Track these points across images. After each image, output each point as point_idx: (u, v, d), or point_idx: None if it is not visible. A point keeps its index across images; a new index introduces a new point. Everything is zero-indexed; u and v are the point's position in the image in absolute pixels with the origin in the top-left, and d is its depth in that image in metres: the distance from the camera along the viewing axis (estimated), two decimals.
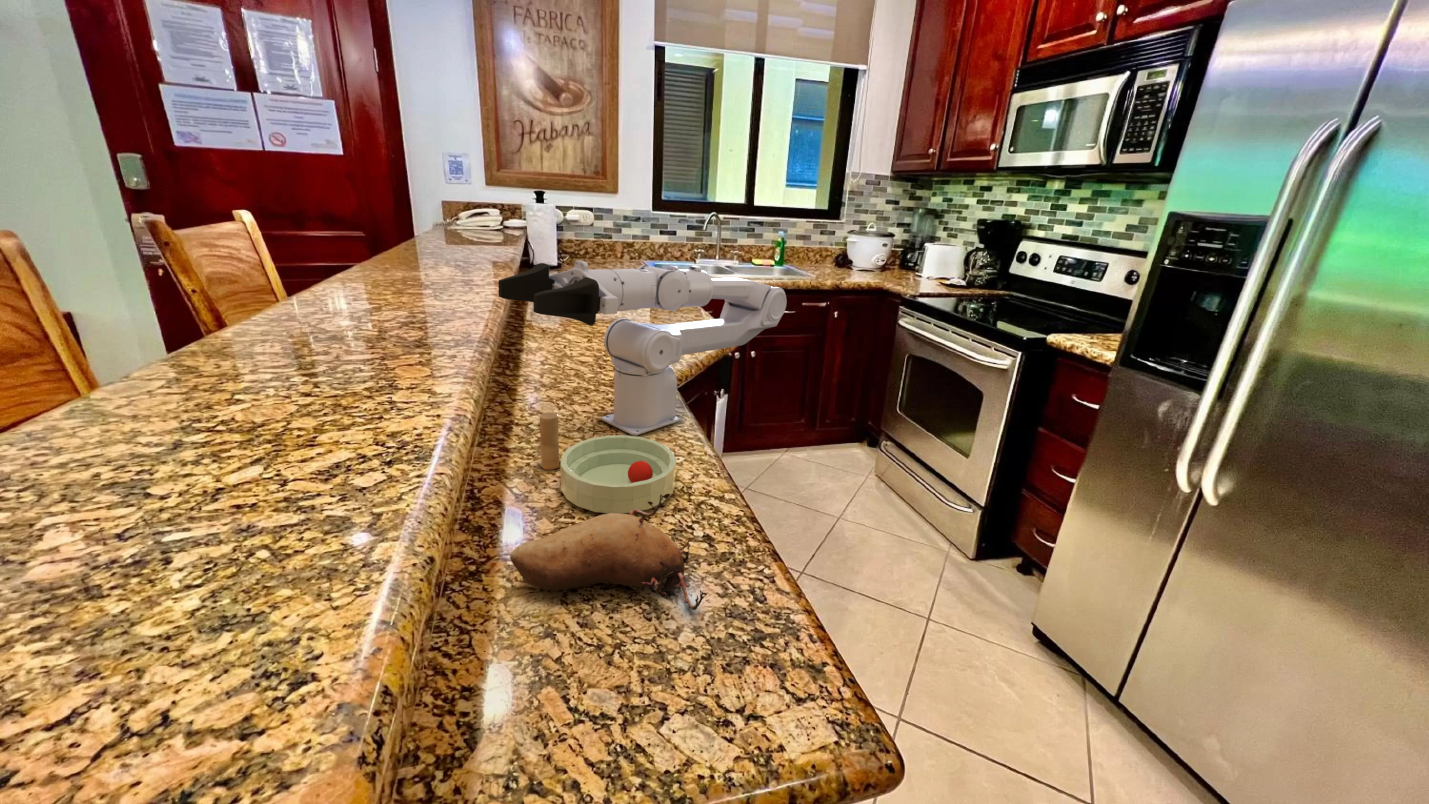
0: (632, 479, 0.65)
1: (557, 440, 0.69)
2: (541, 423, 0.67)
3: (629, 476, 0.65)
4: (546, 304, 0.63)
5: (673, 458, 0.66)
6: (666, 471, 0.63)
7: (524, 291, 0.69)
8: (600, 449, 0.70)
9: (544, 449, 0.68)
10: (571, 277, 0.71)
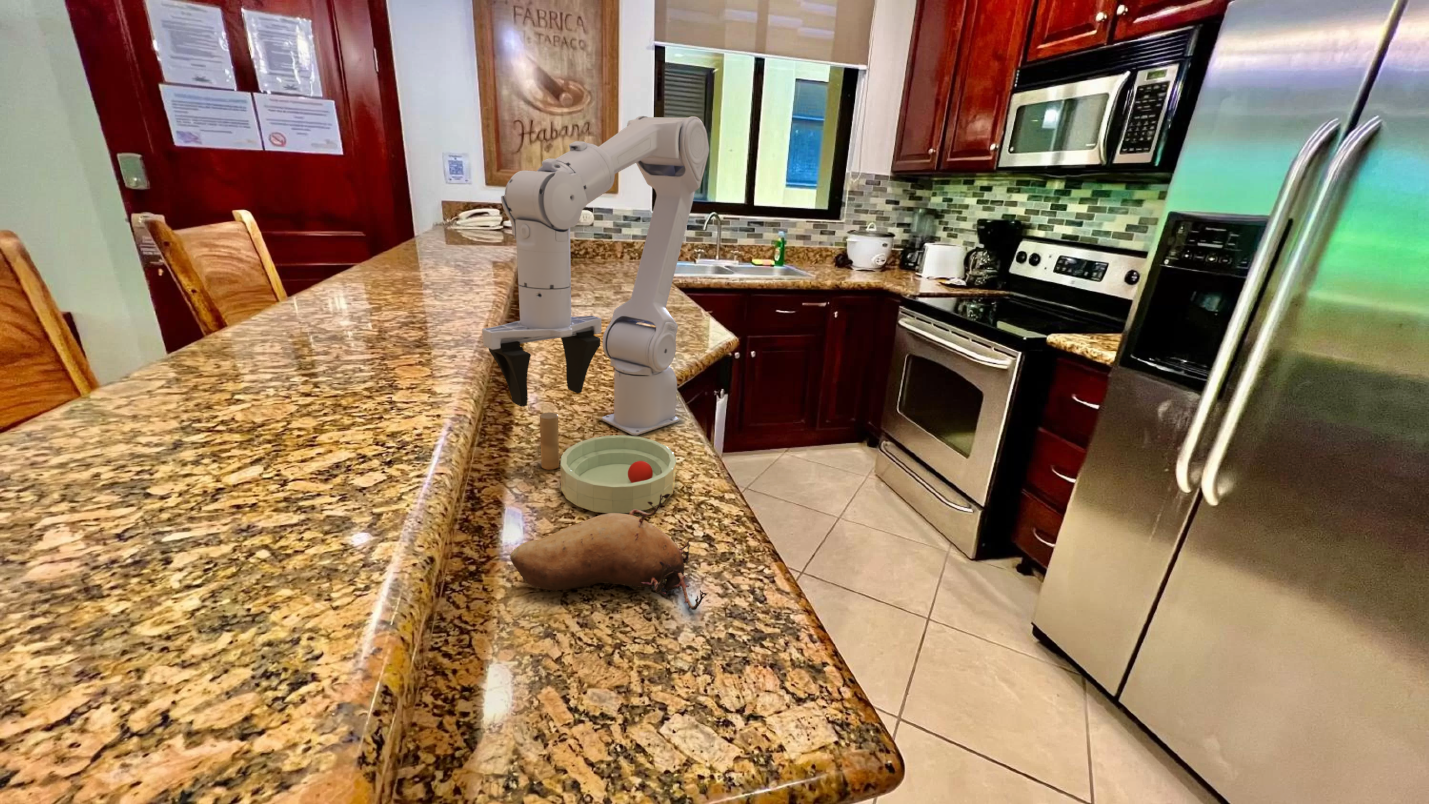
0: (632, 479, 0.65)
1: (557, 440, 0.69)
2: (541, 423, 0.67)
3: (629, 476, 0.65)
4: None
5: (673, 458, 0.66)
6: (666, 471, 0.63)
7: None
8: (600, 449, 0.70)
9: (544, 449, 0.68)
10: None
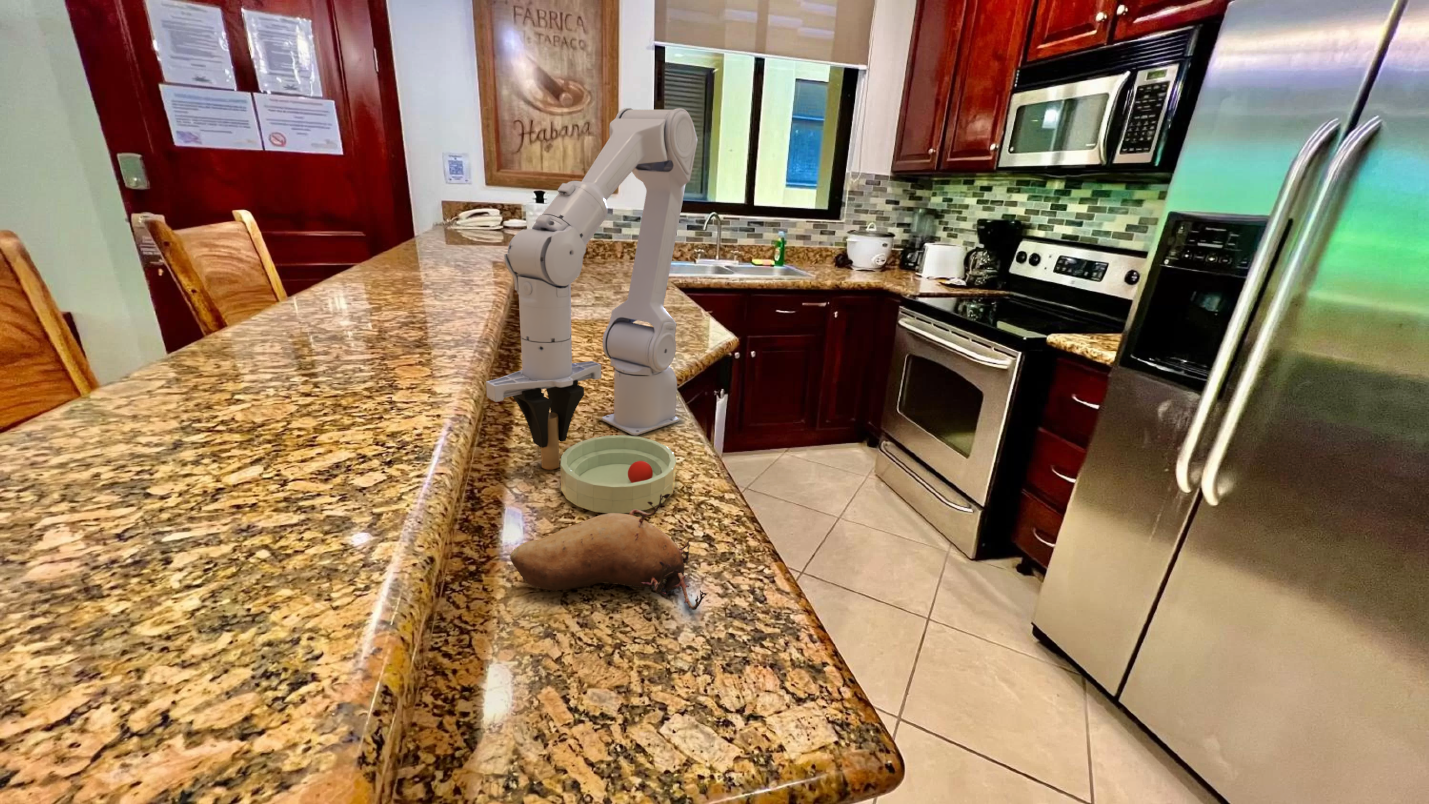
0: (632, 479, 0.65)
1: (557, 440, 0.69)
2: None
3: (629, 476, 0.65)
4: None
5: (673, 458, 0.66)
6: (666, 471, 0.63)
7: None
8: (600, 449, 0.70)
9: (544, 449, 0.68)
10: None
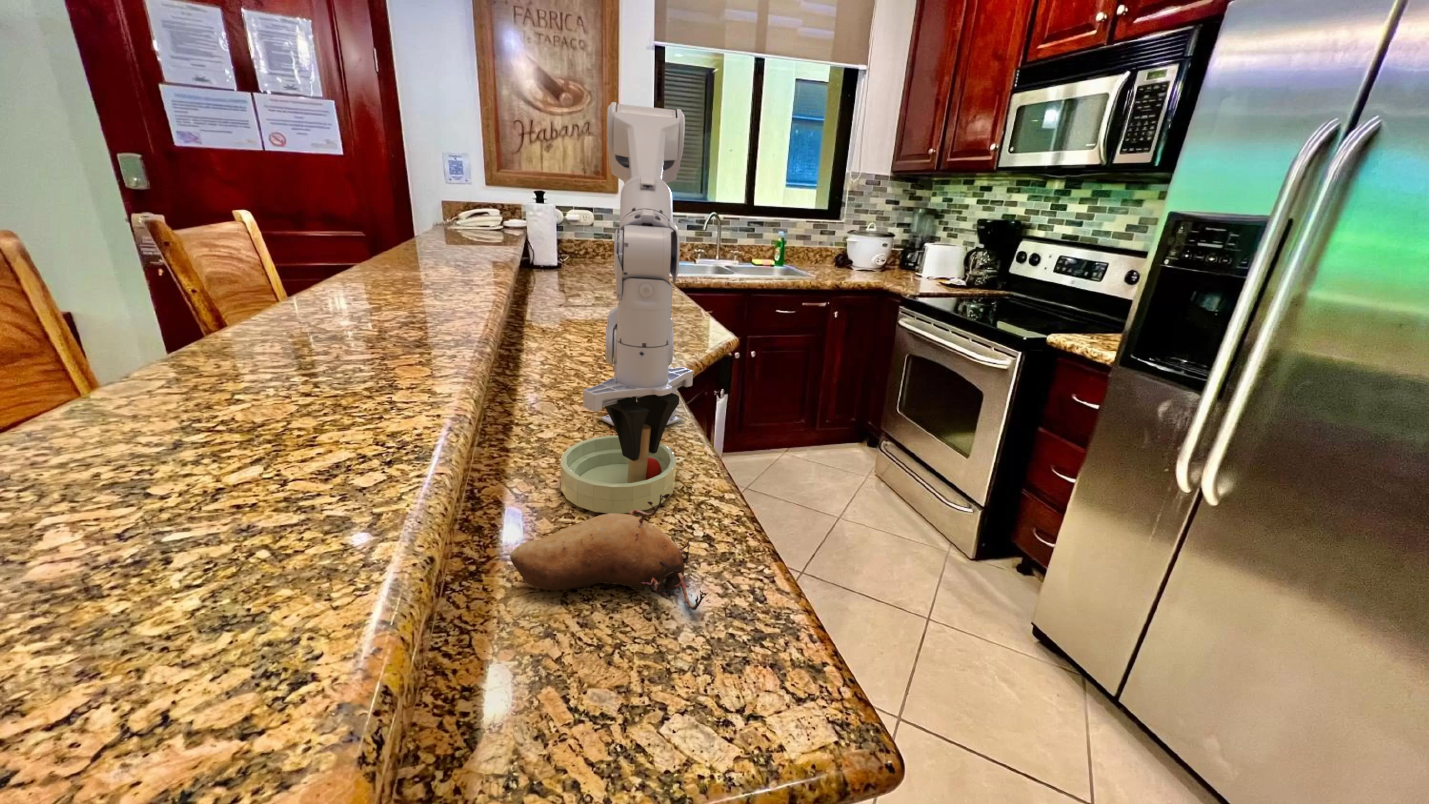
0: None
1: (647, 454, 0.64)
2: None
3: None
4: None
5: (673, 458, 0.66)
6: (666, 471, 0.63)
7: None
8: (600, 449, 0.70)
9: (633, 462, 0.63)
10: None
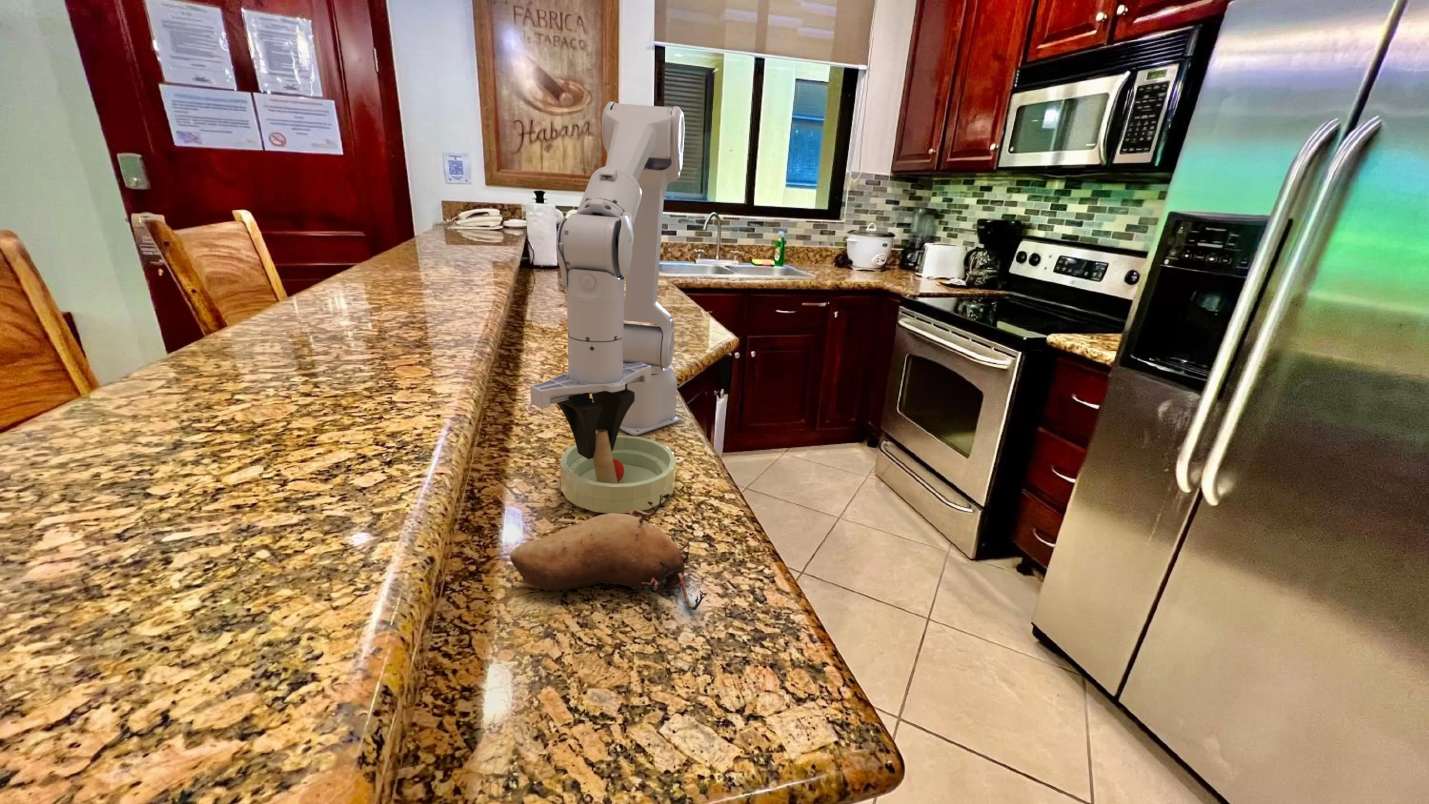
0: (618, 480, 0.66)
1: (603, 461, 0.61)
2: None
3: None
4: None
5: (673, 458, 0.66)
6: (666, 471, 0.63)
7: None
8: None
9: (595, 469, 0.62)
10: None
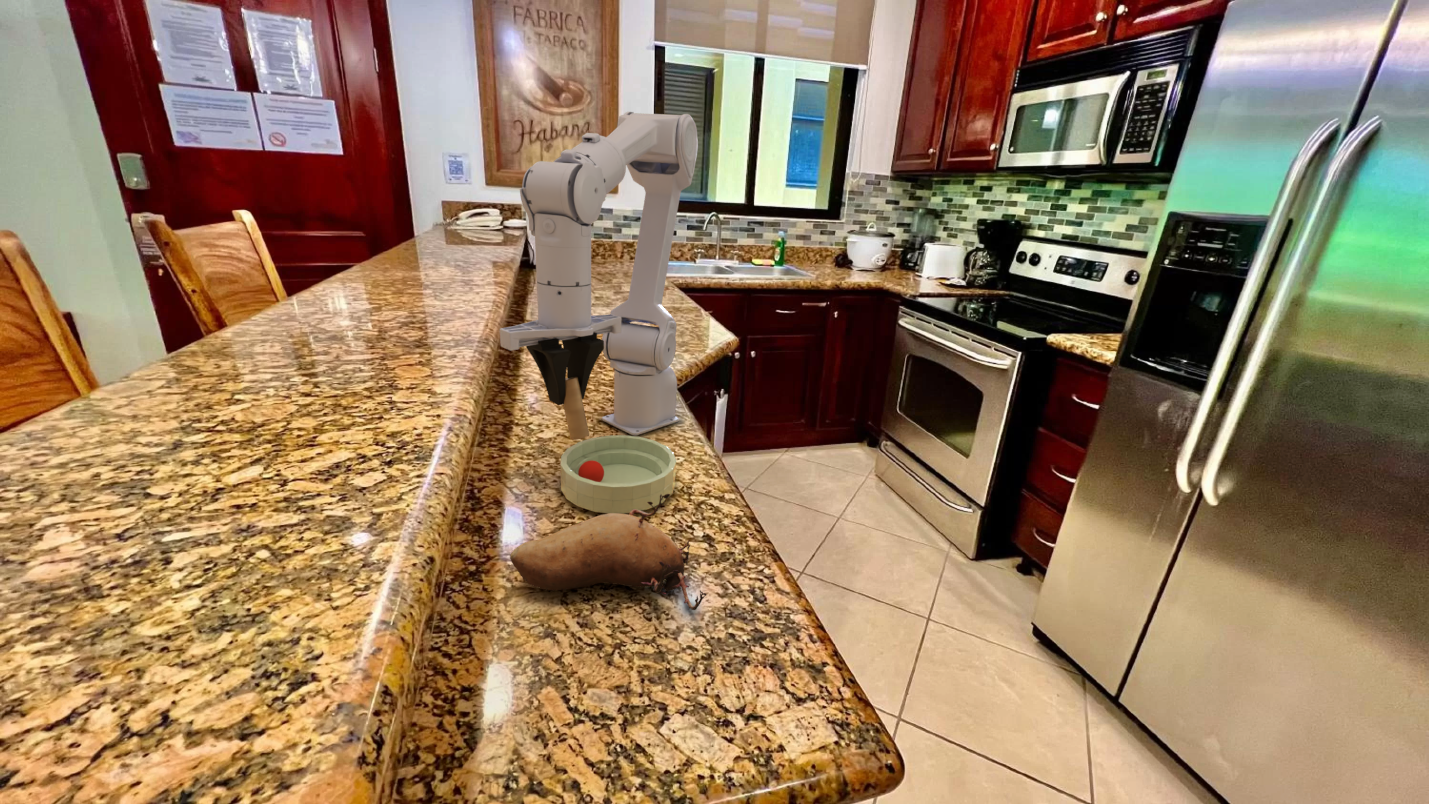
0: (601, 467, 0.65)
1: (573, 407, 0.62)
2: None
3: (600, 464, 0.65)
4: None
5: (673, 458, 0.66)
6: (666, 471, 0.63)
7: None
8: (600, 449, 0.70)
9: None
10: None
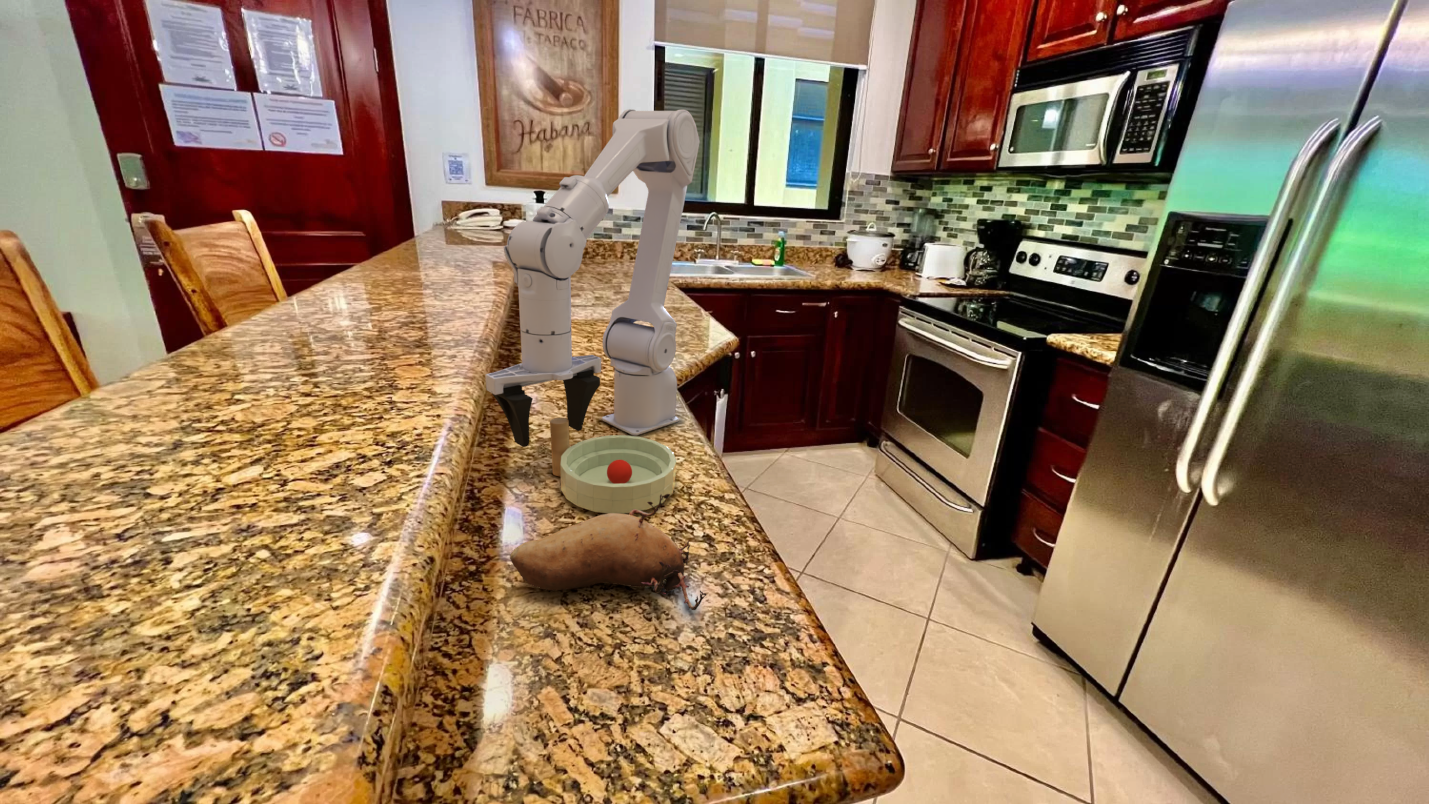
0: None
1: (560, 448, 0.67)
2: None
3: None
4: None
5: (673, 458, 0.66)
6: (666, 471, 0.63)
7: None
8: (600, 449, 0.70)
9: None
10: None
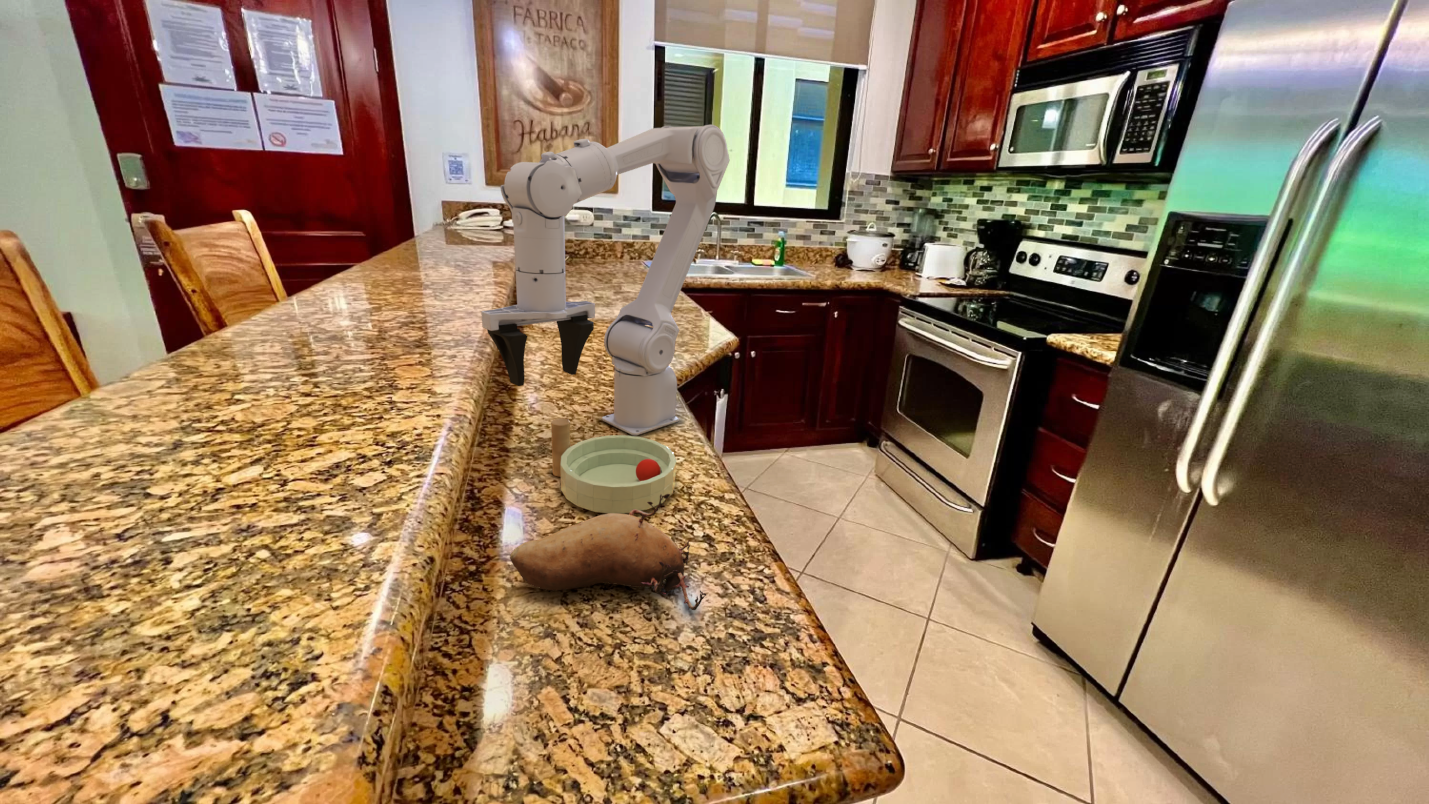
0: (639, 465, 0.66)
1: (561, 449, 0.67)
2: None
3: (638, 464, 0.66)
4: None
5: (673, 458, 0.66)
6: (666, 471, 0.63)
7: None
8: (600, 449, 0.70)
9: None
10: None
